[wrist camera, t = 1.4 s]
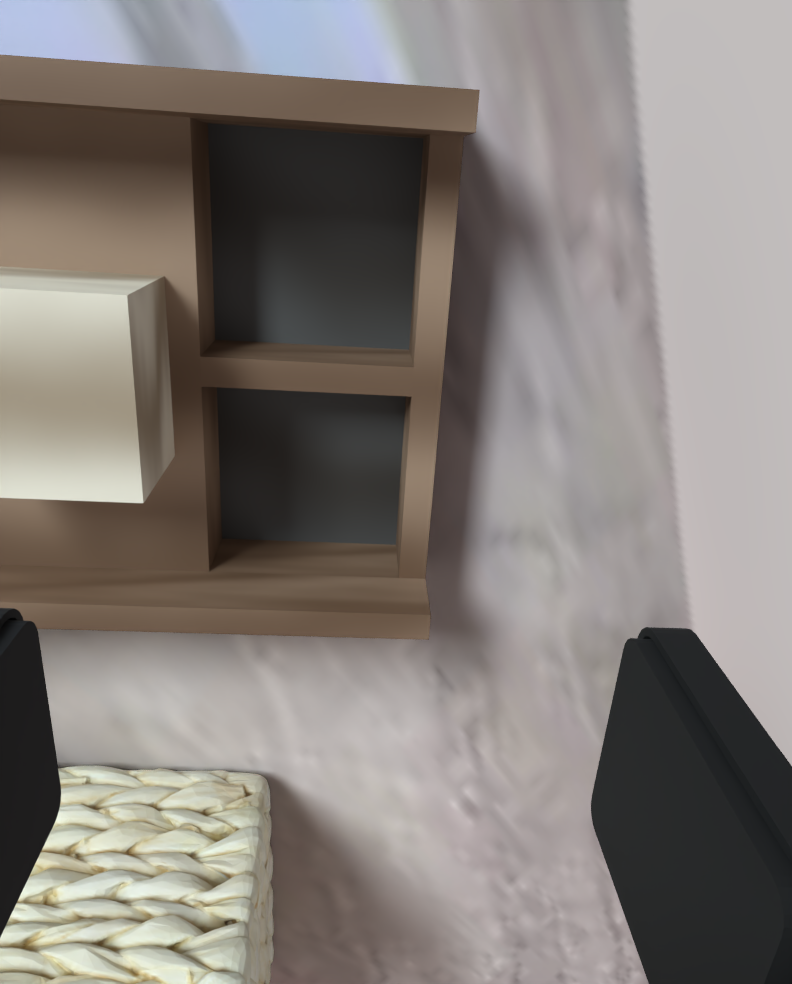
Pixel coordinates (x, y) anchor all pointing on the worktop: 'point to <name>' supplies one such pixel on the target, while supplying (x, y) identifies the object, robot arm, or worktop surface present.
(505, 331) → the worktop surface
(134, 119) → the box
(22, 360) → the birch block
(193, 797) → the storage basket
